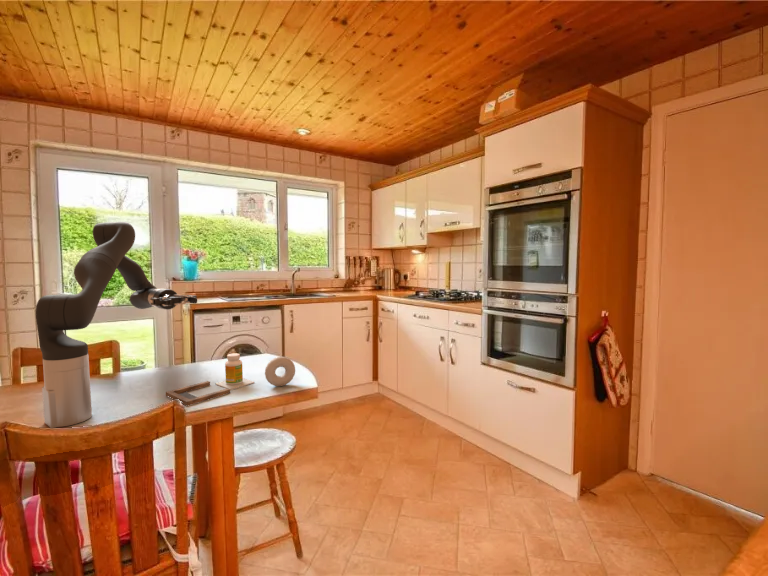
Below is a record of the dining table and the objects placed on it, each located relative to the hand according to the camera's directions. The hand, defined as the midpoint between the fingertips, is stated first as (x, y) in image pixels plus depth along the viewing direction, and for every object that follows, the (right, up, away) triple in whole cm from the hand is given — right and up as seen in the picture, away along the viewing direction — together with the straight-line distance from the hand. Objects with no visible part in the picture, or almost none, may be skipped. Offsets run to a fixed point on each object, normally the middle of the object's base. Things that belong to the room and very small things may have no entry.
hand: (183, 301), depth 136 cm
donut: (+36, -28, -6) cm, 46 cm away
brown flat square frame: (+12, -29, -14) cm, 34 cm away
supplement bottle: (+19, -28, -4) cm, 34 cm away
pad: (+20, -28, -4) cm, 34 cm away
